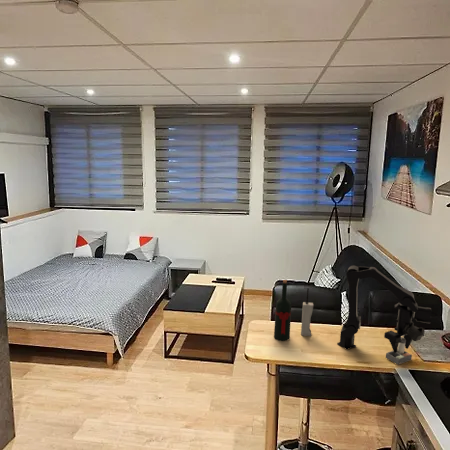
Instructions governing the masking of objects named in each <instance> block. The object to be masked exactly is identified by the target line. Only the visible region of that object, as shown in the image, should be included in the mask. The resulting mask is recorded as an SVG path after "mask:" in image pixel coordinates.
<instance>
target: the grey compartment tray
mask: <svg viewBox="0 0 450 450" xmlns="http://www.w3.org/2000/svg"><path fill="white" fill-rule="evenodd" d="M397 351H398V349H397ZM412 356H413V355H412V354H411V353H409V352H407V351H406V350H404V354H403V355H401V354H399V353H397V352H396V353H395V352H394V351H393V350H391V351H388V352H386V353H385V359H386V358H387V360H388V359H389V361H390V360H391V361H390V362H392V361H393V362H392V363H393V364H395V363H396V364H395V365H397V364H398V365H397V366H399V365H401V364H404V363H406V362H410V361H412Z"/></svg>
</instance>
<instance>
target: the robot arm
mask: <svg viewBox="0 0 450 450" xmlns="http://www.w3.org/2000/svg"><path fill="white" fill-rule="evenodd" d="M345 275H346V281H347V285H348V316H347V319H346V323H344V324H343V325H342V327H341V330H340V335H339V336H340V337H339V341H338V342H337V343H336V344H337V345H338V346H340V347H342V348H344V349H345V350H350V349H354V348H356V347H357V345H356V344H355V337H356V336H355V335H356V334H357V333H358V332H359V330H360V329H361V325H362V323H361V318H362V316H361V315H360V316H359V315H358V285H359V282H360V281H359V280H360V279H367V278H372V279H373V280H375V281H376V282H377V283H379V284H380V285H381V286H383V287H384V288H385V289H386V290H388V291H389V292H390V293H391V294H392V295H394V297H395V299H396V300H397V301H398V303H396V304H394V309H397V310H398V312H397V314H398V315H397V319H395V321H394V322H396V327H394V330H389V331H385V332H384V334H383V337H384V338H385V339H387V340H388V341H389V343H390V345H391V348H392V351H394V352H395V353H396V352H397V349H398V344H399V343H400V342H402V341H400V340H401V337H403V338H405V339H406V343H405V349H406V350H408V349H409V348H410V346H411V343H412V341H413V342H418V341H421V340H422V338H423V337H425V328H424V327H418V326H417V325H414V324H415V323H414V321H416V322H420V323H424V324H425V323H426V324H431V322H432V308H431V307H427V306H426V307H424V306H419V305H418V303H417V302H416V300H415V295H414V293H413V292H412V291H411V290H408V289H407V288H405V287H401V286H399V285H398V284H397V283H395V282H394V281H393V280H391V279H390V278H388V277H387V276H386V275H385V274H383V273H382V272H381V271H379V269H377V268H376V267H374V266H357V265H350V266H349V267H348V269H347V270H346V274H345ZM413 319H414V321H412V320H413ZM395 331H396V332H395Z"/></svg>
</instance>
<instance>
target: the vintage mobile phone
mask: <svg viewBox="0 0 450 450" xmlns="http://www.w3.org/2000/svg"><path fill="white" fill-rule="evenodd" d="M306 289H307V290H306V291H307V292H306V299H305V301H303V302H302V310H301V311H302V312H301V329H300V330H301V331H300V334H301V336H306V337H312V330H311V317H312V315H313V311H314V302H309V290H310V289H309V287H308V288H306Z"/></svg>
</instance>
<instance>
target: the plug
mask: <svg viewBox="0 0 450 450" xmlns="http://www.w3.org/2000/svg"><path fill="white" fill-rule="evenodd" d="M400 341H402V342H400V343H399V344H398V351H397V353H399V354H401V355H403V354H404V351H406V350H405V349H406V348H405V343H406V339H405V338H404V336H401V340H400Z"/></svg>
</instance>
